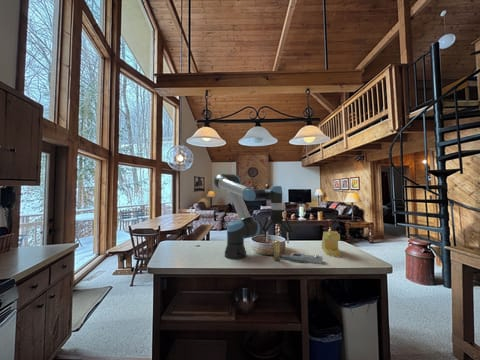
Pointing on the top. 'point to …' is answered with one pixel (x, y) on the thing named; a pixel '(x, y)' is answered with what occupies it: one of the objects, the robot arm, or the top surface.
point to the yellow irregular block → (331, 243)
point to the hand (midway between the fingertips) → (277, 242)
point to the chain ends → (302, 258)
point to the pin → (277, 250)
